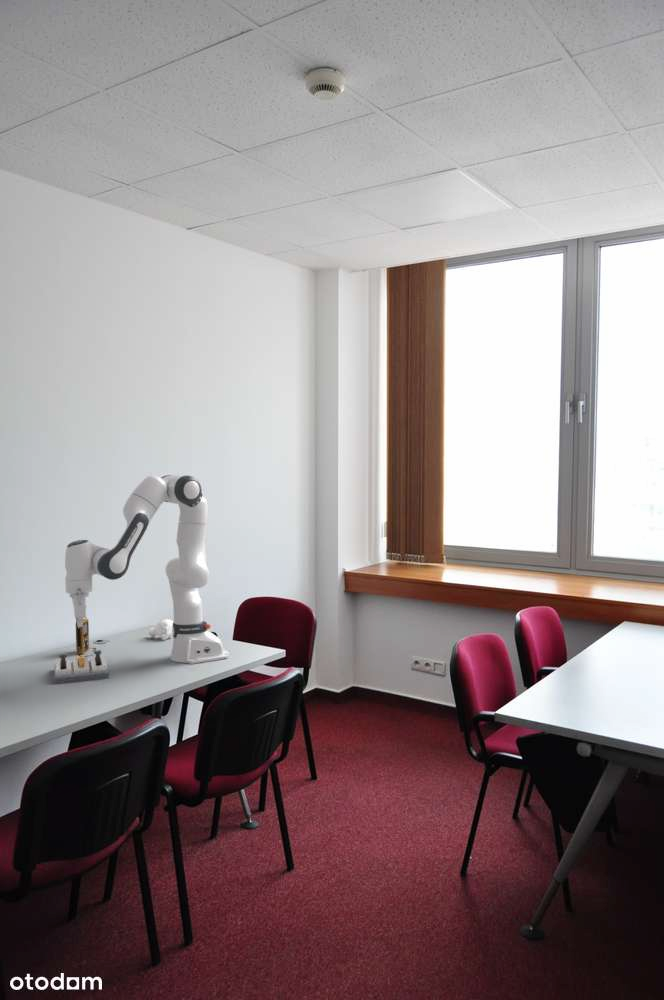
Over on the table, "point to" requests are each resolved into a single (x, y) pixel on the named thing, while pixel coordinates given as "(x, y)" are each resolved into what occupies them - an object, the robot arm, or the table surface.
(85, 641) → the multimeter
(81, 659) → the orange breaker
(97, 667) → the breaker board
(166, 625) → the white crumpled lump
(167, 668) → the table surface
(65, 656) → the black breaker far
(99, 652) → the black breaker near arm
